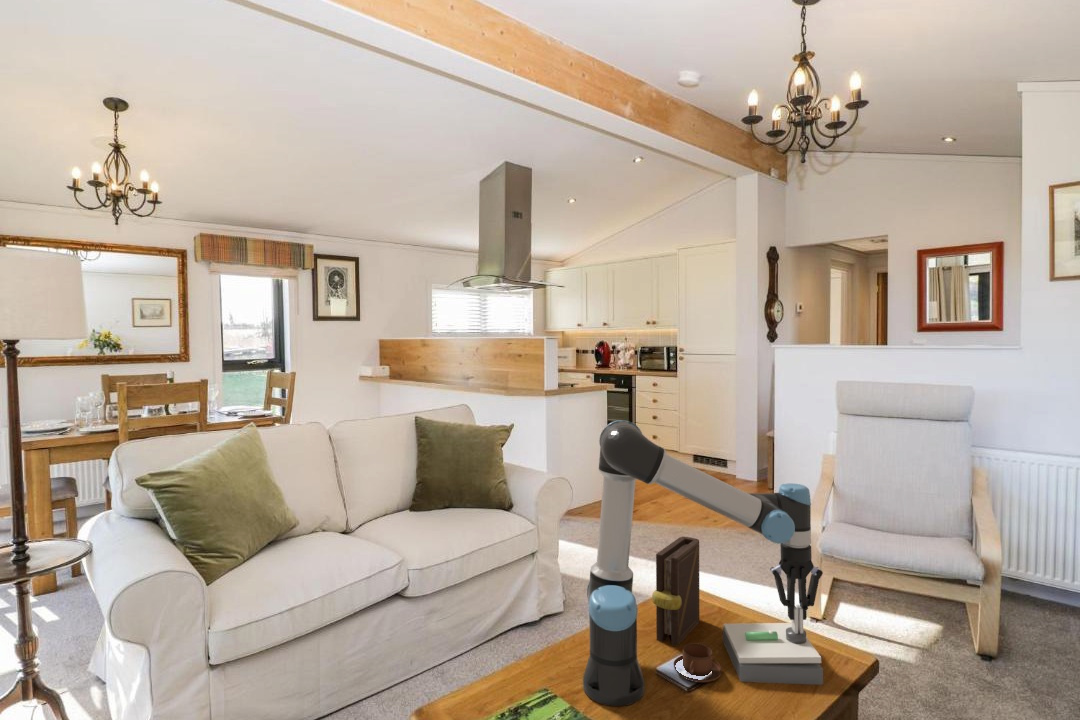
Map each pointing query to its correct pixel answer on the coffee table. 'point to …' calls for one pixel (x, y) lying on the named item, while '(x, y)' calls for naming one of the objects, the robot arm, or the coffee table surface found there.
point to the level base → (775, 670)
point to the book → (677, 589)
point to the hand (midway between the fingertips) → (797, 630)
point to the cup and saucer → (699, 662)
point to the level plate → (770, 643)
